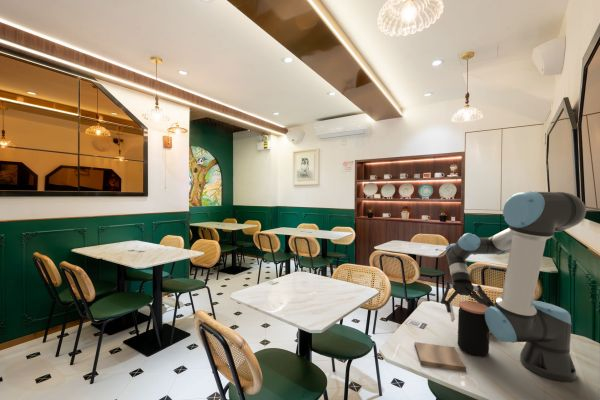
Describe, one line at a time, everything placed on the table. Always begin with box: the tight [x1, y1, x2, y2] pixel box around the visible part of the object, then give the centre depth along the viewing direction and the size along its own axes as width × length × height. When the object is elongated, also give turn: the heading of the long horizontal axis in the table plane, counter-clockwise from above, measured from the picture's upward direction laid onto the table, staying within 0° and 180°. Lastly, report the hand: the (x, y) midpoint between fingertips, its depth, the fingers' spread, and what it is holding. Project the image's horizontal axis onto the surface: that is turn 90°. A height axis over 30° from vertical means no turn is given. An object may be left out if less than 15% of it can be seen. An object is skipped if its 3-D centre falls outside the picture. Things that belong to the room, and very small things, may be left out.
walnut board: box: [414, 341, 467, 372], centre depth 105 cm, size 15×13×2 cm
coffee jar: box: [457, 300, 490, 358], centre depth 110 cm, size 11×11×18 cm
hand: (471, 322), depth 111 cm, fingers open, 13 cm apart
